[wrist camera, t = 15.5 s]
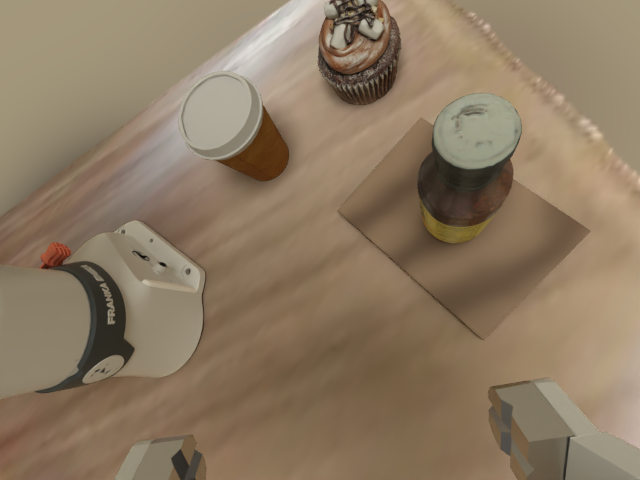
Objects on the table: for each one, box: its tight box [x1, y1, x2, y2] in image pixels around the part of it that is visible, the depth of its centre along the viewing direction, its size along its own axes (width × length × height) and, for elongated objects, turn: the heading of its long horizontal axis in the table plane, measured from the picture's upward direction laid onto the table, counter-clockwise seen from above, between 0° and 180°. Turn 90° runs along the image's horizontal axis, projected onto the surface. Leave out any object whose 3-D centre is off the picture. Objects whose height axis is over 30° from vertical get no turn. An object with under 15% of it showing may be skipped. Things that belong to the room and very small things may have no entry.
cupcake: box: [318, 0, 401, 105], centre depth 38 cm, size 10×10×10 cm
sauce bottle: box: [417, 93, 522, 243], centre depth 26 cm, size 6×6×20 cm
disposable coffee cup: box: [178, 71, 289, 181], centre depth 39 cm, size 10×10×12 cm
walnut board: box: [337, 118, 590, 340], centre depth 36 cm, size 20×14×2 cm
